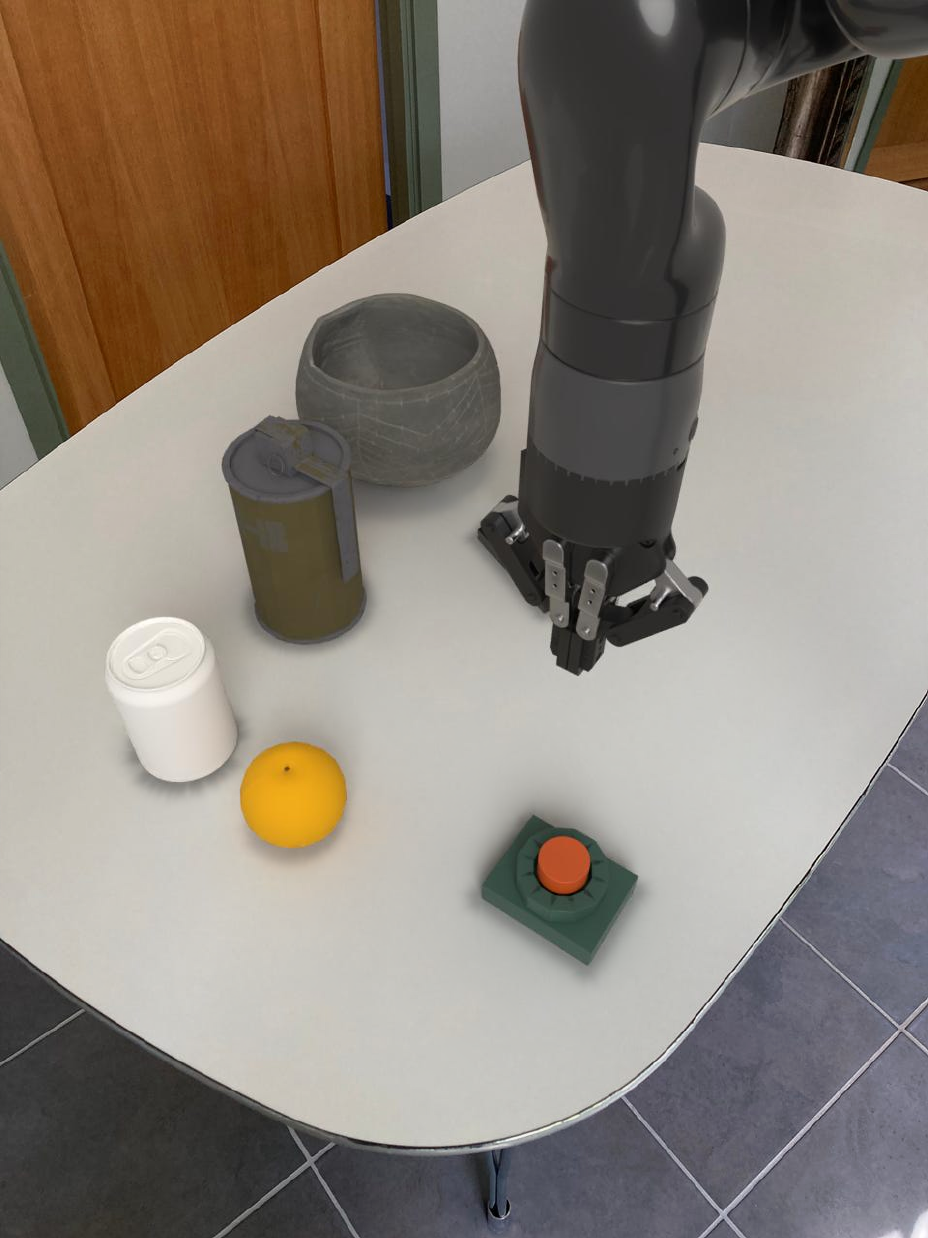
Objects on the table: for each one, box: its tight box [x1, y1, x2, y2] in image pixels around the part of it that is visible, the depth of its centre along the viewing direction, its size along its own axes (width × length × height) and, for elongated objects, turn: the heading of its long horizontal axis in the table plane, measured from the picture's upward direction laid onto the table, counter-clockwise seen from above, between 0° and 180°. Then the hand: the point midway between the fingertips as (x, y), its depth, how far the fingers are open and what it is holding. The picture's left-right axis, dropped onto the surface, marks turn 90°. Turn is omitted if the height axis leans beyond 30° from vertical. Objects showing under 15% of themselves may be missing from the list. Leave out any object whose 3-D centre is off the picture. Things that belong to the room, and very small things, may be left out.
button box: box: [481, 814, 639, 967], centre depth 69 cm, size 9×7×4 cm
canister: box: [220, 414, 367, 645], centre depth 83 cm, size 11×10×20 cm
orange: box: [239, 741, 348, 849], centre depth 72 cm, size 8×8×8 cm
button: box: [537, 836, 590, 894], centre depth 67 cm, size 4×4×2 cm
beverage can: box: [103, 616, 238, 783], centre depth 75 cm, size 8×8×12 cm
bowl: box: [294, 292, 502, 488], centre depth 99 cm, size 21×21×15 cm
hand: (575, 661), depth 57 cm, fingers closed
